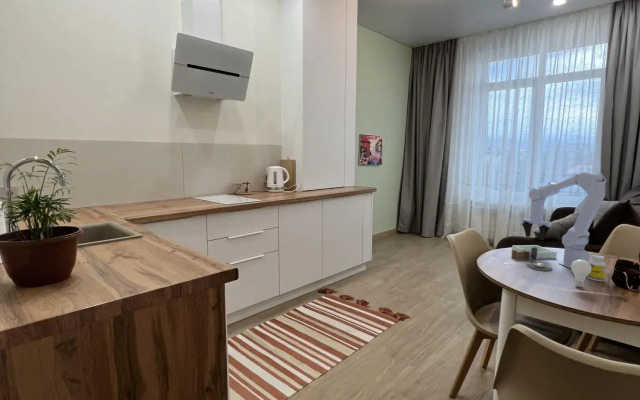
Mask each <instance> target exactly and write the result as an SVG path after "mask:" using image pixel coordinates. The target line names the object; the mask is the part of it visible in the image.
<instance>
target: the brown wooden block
mask: <svg viewBox="0 0 640 400" xmlns="http://www.w3.org/2000/svg"><path fill="white" fill-rule="evenodd" d="M511 258H513V259H515V260H518V261H524V260H525V261H526V260H530V259H529V251H526V250H524V249H514V250H512V249H511Z"/></svg>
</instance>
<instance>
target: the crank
mask: <svg viewBox="0 0 640 400" xmlns="http://www.w3.org/2000/svg"><path fill="white" fill-rule="evenodd" d="M530 252H531V258H532V259H531V261H532V263H533V266H535V267H539V268H546V265H547V264H546V263H544V262H540V261H539V259H537V248H536V247H533V248H532V249H531V251H530Z"/></svg>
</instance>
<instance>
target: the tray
mask: <svg viewBox="0 0 640 400" xmlns="http://www.w3.org/2000/svg"><path fill="white" fill-rule="evenodd" d="M533 247H536V248H537V260H541V259H542V260H543V259H546V260H547V259H549V260H550V259H557V255H558V252H557V251H555V250H553V249H552V250H551V249H549V248H546V247H542V246H540V245H537V244H533V245H532V244H530V245H529V244H528V245H527V244H526V245H525V244H524V245H512V246H511V251H512V250H514V249H524V250H526V251H529V260H532V258H531V249H532V248H533Z"/></svg>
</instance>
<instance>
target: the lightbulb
mask: <svg viewBox="0 0 640 400" xmlns="http://www.w3.org/2000/svg"><path fill="white" fill-rule="evenodd" d="M570 269H571V271H572V273H573V275H574V279H575V280H574V281H575V283H574V286H576V287H577V288H584V284H585V280H586V279H587V277H588V275H589V274H590V272H591V270H592V268H591V265H590V263H589V262H587V261H585V260H582V259H578V260H575V261H573V262H572V264H571V268H570Z"/></svg>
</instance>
